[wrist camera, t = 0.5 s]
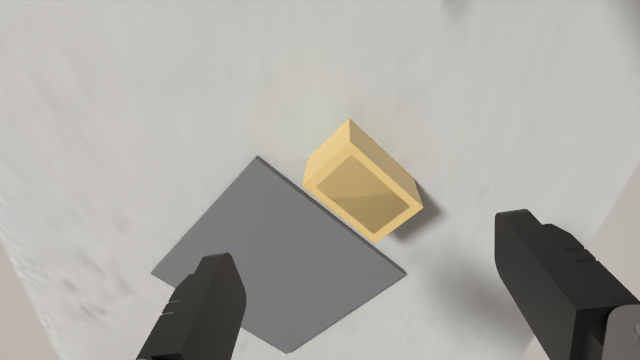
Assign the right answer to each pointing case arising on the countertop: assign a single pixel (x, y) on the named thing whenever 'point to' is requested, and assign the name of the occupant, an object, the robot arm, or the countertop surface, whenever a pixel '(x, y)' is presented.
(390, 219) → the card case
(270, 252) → the mat
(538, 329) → the robot arm
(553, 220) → the countertop surface
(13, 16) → the countertop surface
